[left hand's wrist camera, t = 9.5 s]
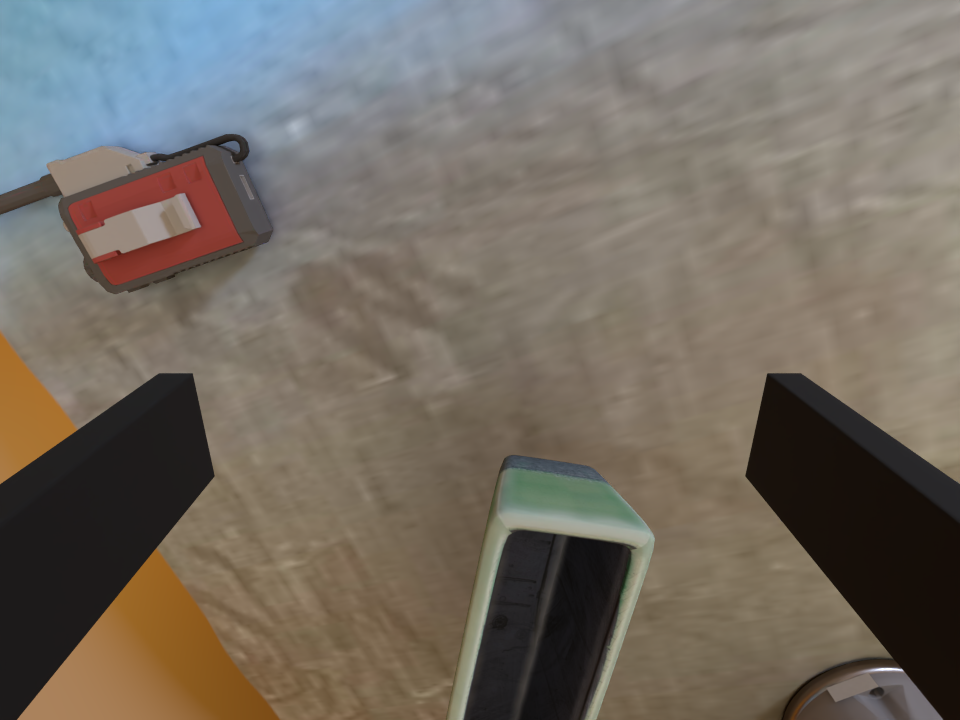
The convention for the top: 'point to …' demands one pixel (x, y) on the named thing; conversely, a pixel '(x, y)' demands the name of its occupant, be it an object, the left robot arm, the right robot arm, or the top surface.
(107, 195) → the walkie-talkie
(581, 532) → the planter
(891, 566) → the left robot arm
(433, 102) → the top surface
